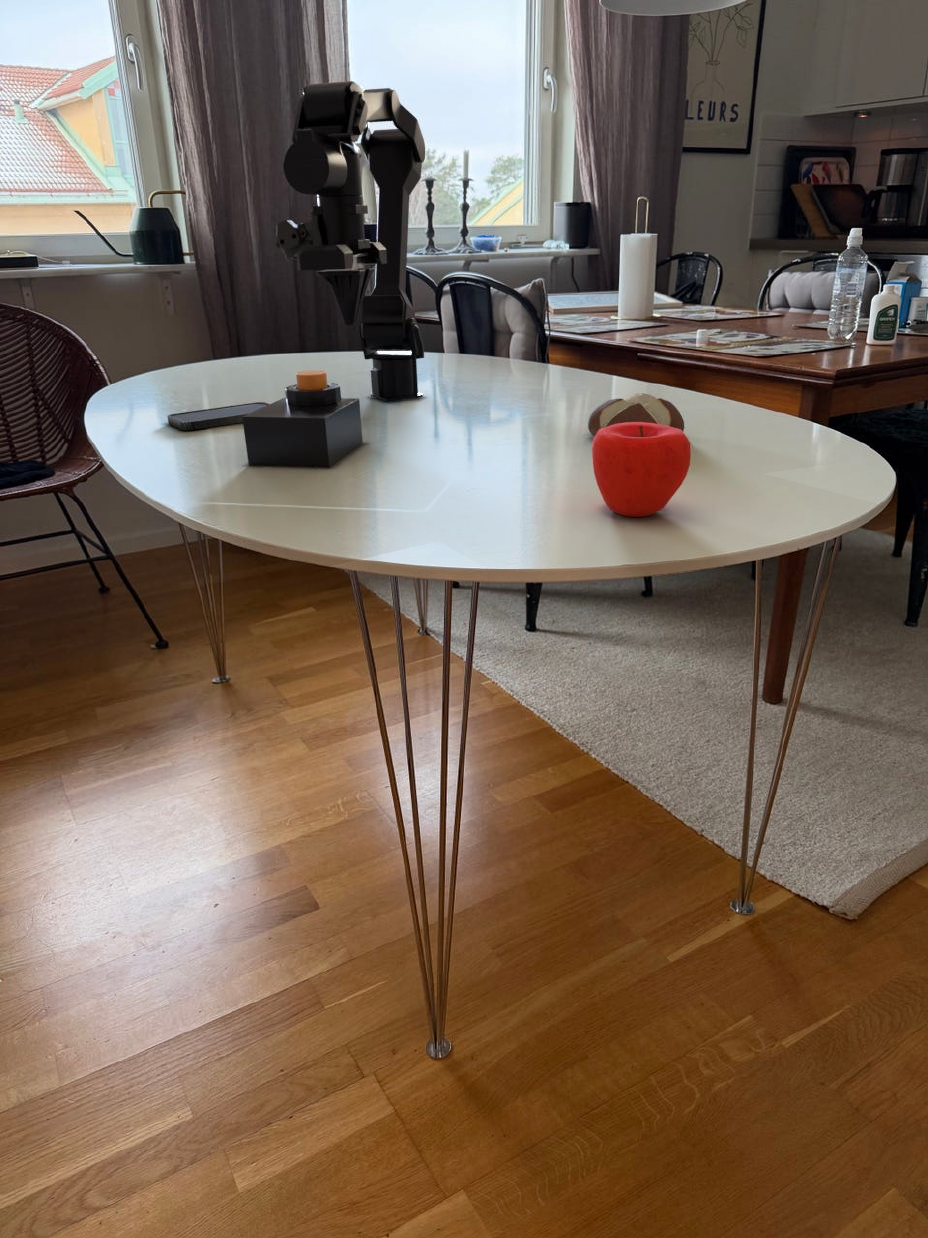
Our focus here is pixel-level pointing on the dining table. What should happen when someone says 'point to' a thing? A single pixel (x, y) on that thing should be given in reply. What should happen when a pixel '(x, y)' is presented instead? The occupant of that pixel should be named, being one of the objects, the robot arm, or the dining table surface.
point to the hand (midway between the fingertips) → (350, 324)
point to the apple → (639, 466)
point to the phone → (213, 416)
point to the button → (311, 380)
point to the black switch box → (304, 429)
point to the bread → (635, 412)
